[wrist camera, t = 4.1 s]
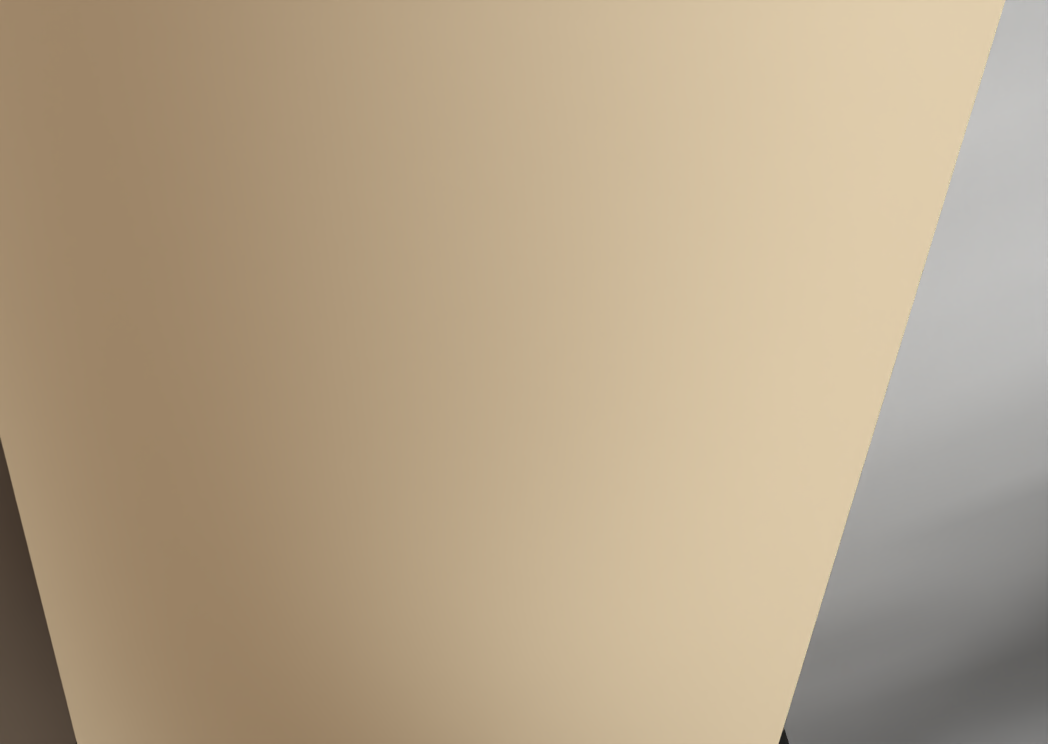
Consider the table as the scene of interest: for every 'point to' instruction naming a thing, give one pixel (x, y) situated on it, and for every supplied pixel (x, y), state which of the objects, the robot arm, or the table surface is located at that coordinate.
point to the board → (25, 641)
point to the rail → (456, 351)
